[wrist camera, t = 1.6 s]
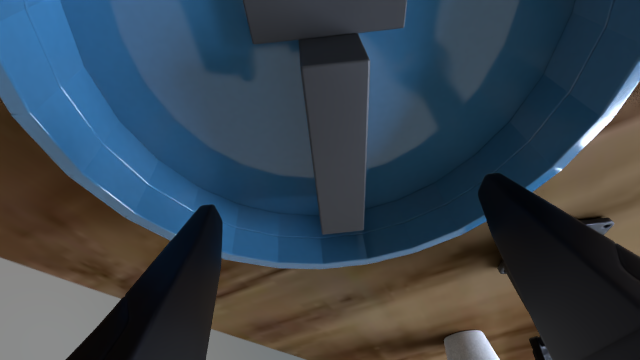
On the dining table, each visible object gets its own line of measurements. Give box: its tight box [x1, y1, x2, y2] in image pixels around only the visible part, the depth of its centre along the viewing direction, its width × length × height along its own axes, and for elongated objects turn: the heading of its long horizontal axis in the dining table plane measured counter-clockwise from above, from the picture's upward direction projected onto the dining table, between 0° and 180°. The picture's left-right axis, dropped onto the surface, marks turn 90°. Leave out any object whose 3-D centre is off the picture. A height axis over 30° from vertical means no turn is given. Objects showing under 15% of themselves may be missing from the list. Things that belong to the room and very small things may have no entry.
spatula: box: [243, 0, 407, 235], centre depth 11 cm, size 15×6×3 cm, turn 5°
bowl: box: [0, 0, 640, 269], centre depth 11 cm, size 20×20×4 cm
